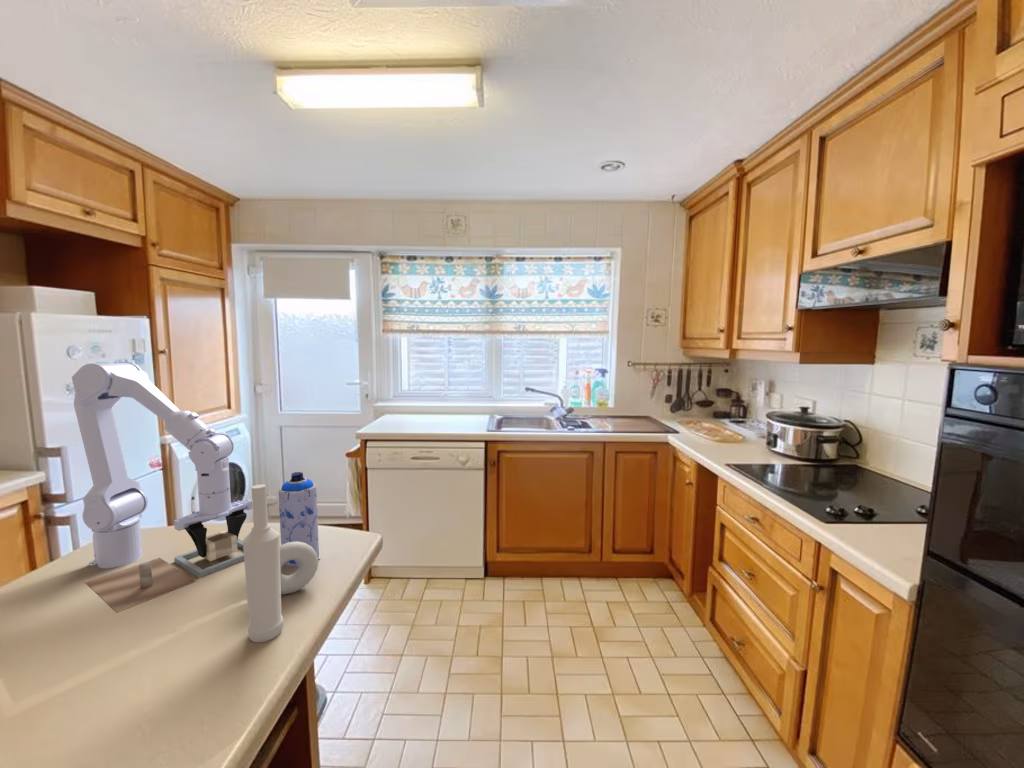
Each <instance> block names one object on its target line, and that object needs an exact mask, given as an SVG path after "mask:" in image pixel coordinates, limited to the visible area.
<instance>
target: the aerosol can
mask: <svg viewBox="0 0 1024 768" xmlns="http://www.w3.org/2000/svg"><path fill="white" fill-rule="evenodd" d="M290 477H291V478H290V479H288V480H287V481H285V482H284V483H283V484H282V485H281V487H280V488H279V489H278V505H279V506H278V509H279V510H278V511H279V528H280V529H279V530H280V533H279V534H280V545H283V544H286V543H288V542H296V541H298V542H303V543H306V544H308V545H310V546H311V547H313V549H314V550H315V552H316V553H317V558H318V559H319V554H320V545H319V544H320V543H319V518H318V495H317V493H318V492H317V485H316V483H315V482H313V480H311V479H309V478H307V477H304V473H303V471H302V472H301V471H299V472H298V471H296V472H292V473H291V476H290ZM284 565H285V566H291V567H295V568H297V569H298V568H299V565H300V564H299V562H298V561H297V560H290V561H287V562H286V563H284Z"/></svg>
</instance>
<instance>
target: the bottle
mask: <svg viewBox="0 0 1024 768" xmlns="http://www.w3.org/2000/svg"><path fill="white" fill-rule="evenodd" d="M267 496H268V495H267V485H266V483H265V484H262V483H261V484H255V485H252V486H251V499H252V503H253V509H252V514H253V515H252V517H253V520H252V521H253V526H252V527H251V529H250V530H251V531H250V532H249V533H248V534H247V535H246V536H245V537H244V538H243V539H242V541H243V549H244V550H243V549H242V550H243V554H244V570H245V572H244V573H245V583H246V586H245V587H246V596H247V597H246V598H247V609H248V623H249V624H248V625H247V634H248V638H249V640H250V641H251V642H253V643H263V642H267V641H270V640H273V639H274V638H275V637H277V636H279V635H280V633H282V631H283V627H284V617H283V615H282V594H281V580H280V545H281V536H280V533H279V531H277V530H275V529H274V528H272V527H271V525H270V524H269V523H268V522H269V520H268V504H267Z"/></svg>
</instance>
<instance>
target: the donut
mask: <svg viewBox="0 0 1024 768" xmlns="http://www.w3.org/2000/svg"><path fill="white" fill-rule="evenodd" d="M290 560H297V561H298V562H299V564H300V565H299V568H297V570H296V571H295V572H294V573H292V574H289V575H286V574H283V573H282V571H281V570H282V568H283V566H284V565H285V564H284V563H286V562H287V561H290ZM318 567H319V561H318V558H317V553H316V552H315V550H314V549H313V547H311V546H310V545H308V544H306V543H303V542H298V541H296V542H288V543H286V544H283V545H281V544H280V580H281V595H289V594H294V593H295V592H297V591H300V590H301V589H303V588H304V587H306V586H307V585H308V584H309V583H310V582H311V580H312V579H313V578H314V577H315V574H316V572H317V570H318Z"/></svg>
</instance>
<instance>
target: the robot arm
mask: <svg viewBox="0 0 1024 768" xmlns="http://www.w3.org/2000/svg"><path fill="white" fill-rule="evenodd" d="M71 380H72V385H73V389H74V392H75V393H74V399H73V407H74V410H75V414H76V415H75V416H76V419H77V423H78V427H79V430H80V431H79V433H80V436H81V439H82V443H83V448H84V451H85V456H86V460H87V463H88V467H89V472H90V476H91V481H92V487H91V488H90V490H88V492H87V493H86V494H85V495H84V497H83V498H82V501H83V506H84V507H83V511H82V520H83V523H84V524H85V526H86V527H87V528H88V529H90V530H91V532H92V543H93V544H92V547H93V556H94V558H93V559H94V560H92V561H89V562H88V566H90V567H91V566H94V565H97V567H98V568H99V569H100V568H101V569H113V568H118V567H123V566H125V565H126V566H127V565H129V564H131V563H133V562H135V561H137V560H139V559H140V558H142V557H143V549H142V548H143V547H142V535H141V523H140V519H142V516H143V515H142V513H144V512H145V510H146V509H147V507H148V502H149V501H148V498H147V495H146V494H145V493H144V491H143V490H142V489H141V487H140V482H139V481H137V480H135V479H133V478H130V477H129V476H128V473H127V469H126V464H125V459H124V456H123V455H124V454H123V451H122V447H121V442H120V438H119V435H118V431H117V427H116V422H115V418H114V412H113V407H114V406H115V404H116V403H118V402H119V401H120V400H121V398H131V399H134V400H135V401H136V402H138V404H140V405H142V406H143V407H144V408H146V409H147V410H148V411H150V412H151V413H152V414H154V415H155V416H156V417H158V418H160V420H162V421H164V430H165V431H166V432H167V433H168V434H169V435H171V436H172V438H174V439H176V440H177V442H179V443H180V444H181V445H183V446H184V447H185V448H186V449H187V450H189V452H188V453H187V454H188V457H189V460H190V461H192V463H193V464H194V466H195V467H194V468H195V472H196V476H197V494H198V509H199V510H197V511H195V512H192V513H190V514H187V515H185V516H182V517H180V518H177V519H174V520H173V522H174V529H175V530H176V531H177V532H178V531H179V532H180V531H183V530H185V532H187V534H188V535H189V537H190V538H191V540H192V541H193V543H194V546H195V548H196V550H197V551H198V556H199V557H201V558H204V557H206V552H207V550H206V537H207V533H208V532H207V531H208V528H207V527H205V526H204V524H203V523H206V522H209V521H210V522H211V521H213V520H217V519H219V518H224V517H225V520H226V527H227V532H229V533H231V534H233V535H236V536H237V540H238V539H239V534H240V531H241V529H242V527H243V524H244V523H245V521H246V519H247V517H248V515H247V513H246V512H245V511H249V510H253V500H251V499H248V498H247V499H244V500H240V501H234V502H232V500H231V482H230V463H229V462H230V461H229V460H230V459H229V456H230V455H232V453H233V452H234V451H233V450H234V446H235V445H234V442H233V440H232V439H231V438H230V436H229V435H228V434H226V433H225V432H218V431H216V430H215V429H214V428H211V427H210V426H208V425H207V424H206V423H205V422H204V421H203V420H202V419H200V418H199V417H200V415H199V414H198V413H196V412H195V411H193V412H192V411H191V410H181V409H180V408H178V407H177V406H176V405H175V404H174V403H173V402H172V401H171V400H170V399H169V398H168V397H167V396H166V395H165V394H164V393H163V392H162V391H161V390H160V389H159V388H158V387H157V386H156V385H155V384H154V383H153V382H151V380H150V378H149V374H148V373H147V372H146V371H144V370H143V369H142V368H141V367H140V366H139V365H138V364H136V363H133V362H130V361H123V362H118V363H117V362H116V363H115V362H113V363H87V364H86V363H85V364H84V365H82V366H80V368H79V369H78V370H77V371H76V372H75V373H74V374H73V375H72V376H71Z"/></svg>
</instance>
